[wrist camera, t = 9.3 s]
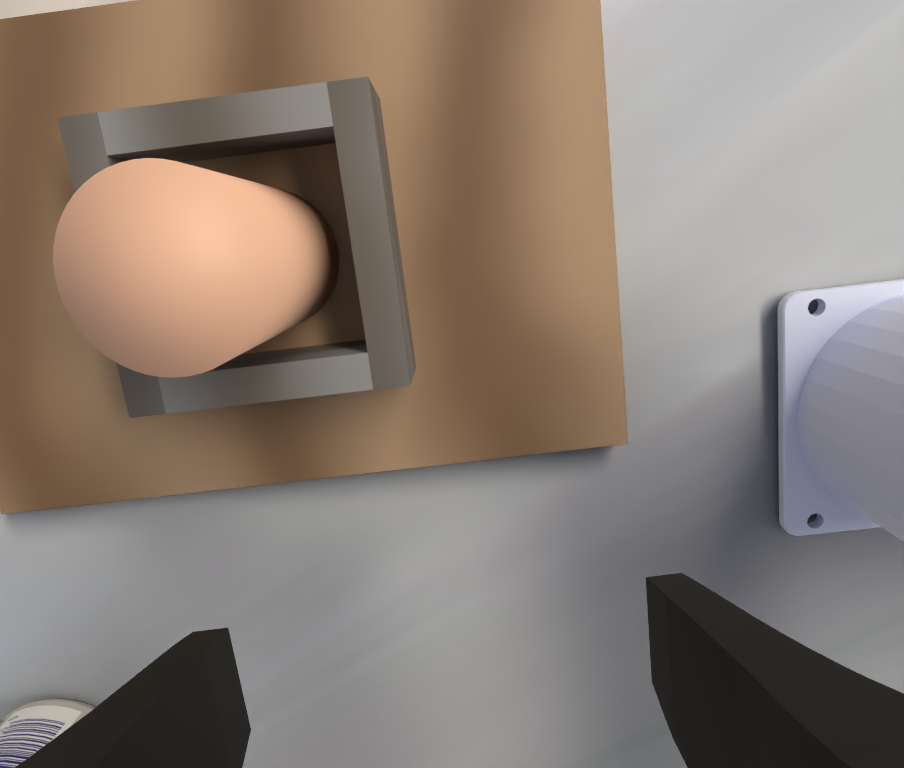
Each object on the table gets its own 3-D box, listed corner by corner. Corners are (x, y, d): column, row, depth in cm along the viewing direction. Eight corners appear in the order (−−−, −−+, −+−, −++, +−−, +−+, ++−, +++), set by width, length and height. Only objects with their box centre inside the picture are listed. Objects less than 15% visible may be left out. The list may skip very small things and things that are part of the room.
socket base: (588, -46, 18) (620, -114, 14) (619, 434, 21) (652, 472, 17) (-109, 48, 18) (-238, 6, 15) (22, 501, 22) (-60, 551, 18)
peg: (324, 177, 18) (242, 141, 11) (350, 317, 19) (288, 361, 12) (187, 199, 18) (25, 177, 12) (219, 336, 19) (87, 391, 12)
